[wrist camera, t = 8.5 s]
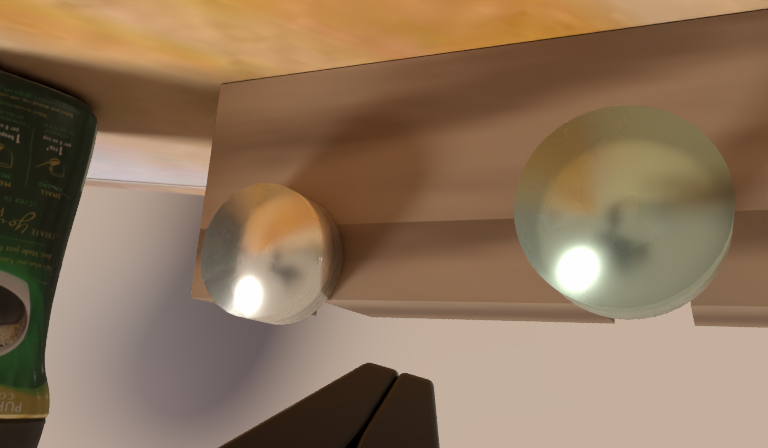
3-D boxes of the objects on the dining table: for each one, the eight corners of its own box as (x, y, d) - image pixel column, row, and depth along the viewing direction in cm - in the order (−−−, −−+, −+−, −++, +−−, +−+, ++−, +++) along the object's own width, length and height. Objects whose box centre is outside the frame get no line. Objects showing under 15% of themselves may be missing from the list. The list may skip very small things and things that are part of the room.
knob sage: (516, 115, 19) (510, 306, 17) (730, 94, 16) (739, 310, 15) (569, 197, 25) (567, 339, 24) (725, 190, 23) (731, 345, 22)
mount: (220, 84, 31) (190, 297, 29) (790, 6, 22) (810, 307, 20) (281, 125, 36) (259, 314, 34) (777, 74, 27) (793, 328, 24)
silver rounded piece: (210, 186, 27) (192, 316, 26) (323, 179, 25) (309, 319, 24) (310, 233, 34) (299, 338, 33) (405, 230, 32) (398, 342, 31)
